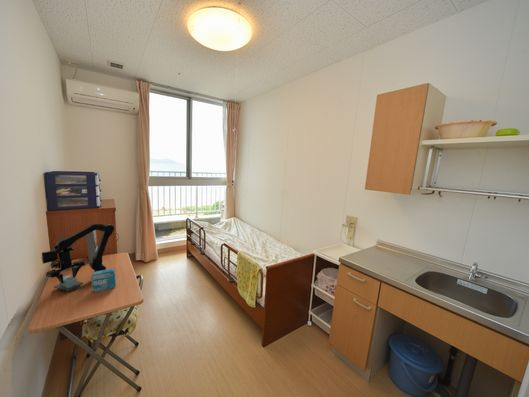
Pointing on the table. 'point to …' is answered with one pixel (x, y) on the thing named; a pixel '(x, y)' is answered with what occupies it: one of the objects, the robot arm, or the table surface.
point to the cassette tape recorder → (91, 244)
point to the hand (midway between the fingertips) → (68, 280)
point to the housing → (69, 281)
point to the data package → (103, 280)
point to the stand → (63, 288)
